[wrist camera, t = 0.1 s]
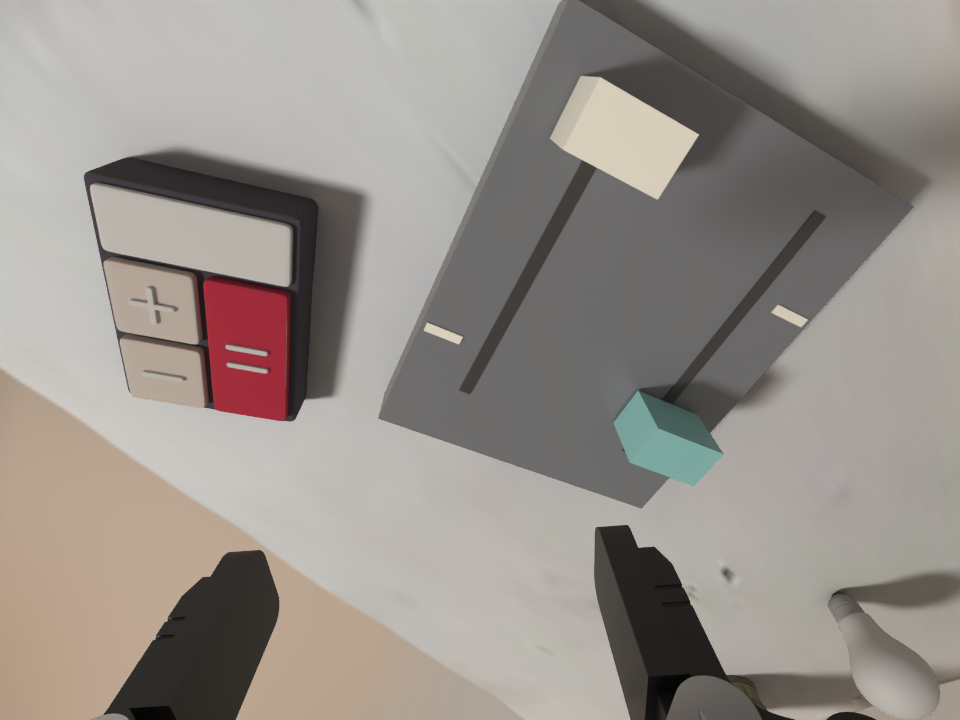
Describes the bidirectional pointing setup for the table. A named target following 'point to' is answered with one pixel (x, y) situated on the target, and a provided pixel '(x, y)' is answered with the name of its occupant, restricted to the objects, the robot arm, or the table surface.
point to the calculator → (206, 286)
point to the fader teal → (666, 439)
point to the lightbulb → (884, 665)
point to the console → (625, 270)
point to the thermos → (746, 689)
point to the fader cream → (622, 135)
